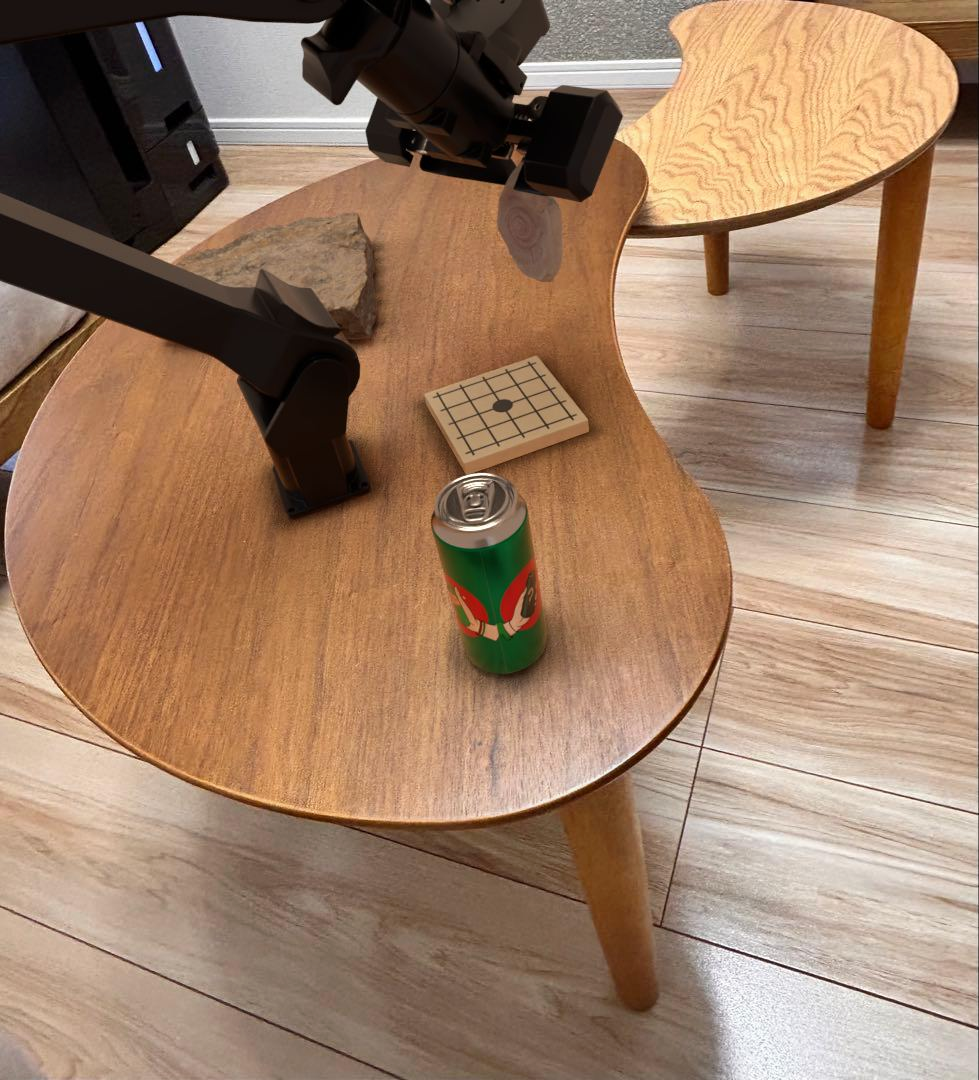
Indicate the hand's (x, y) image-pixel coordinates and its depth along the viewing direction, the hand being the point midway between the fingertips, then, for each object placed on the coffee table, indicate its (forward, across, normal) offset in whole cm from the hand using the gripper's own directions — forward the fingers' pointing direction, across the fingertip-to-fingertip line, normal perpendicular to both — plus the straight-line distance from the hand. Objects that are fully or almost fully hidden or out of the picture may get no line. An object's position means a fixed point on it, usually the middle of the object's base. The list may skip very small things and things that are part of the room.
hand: (543, 185), depth 65 cm
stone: (+6, +30, +14) cm, 33 cm away
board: (+3, -2, +17) cm, 18 cm away
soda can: (-9, -16, +30) cm, 35 cm away
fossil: (+4, 0, +6) cm, 7 cm away
